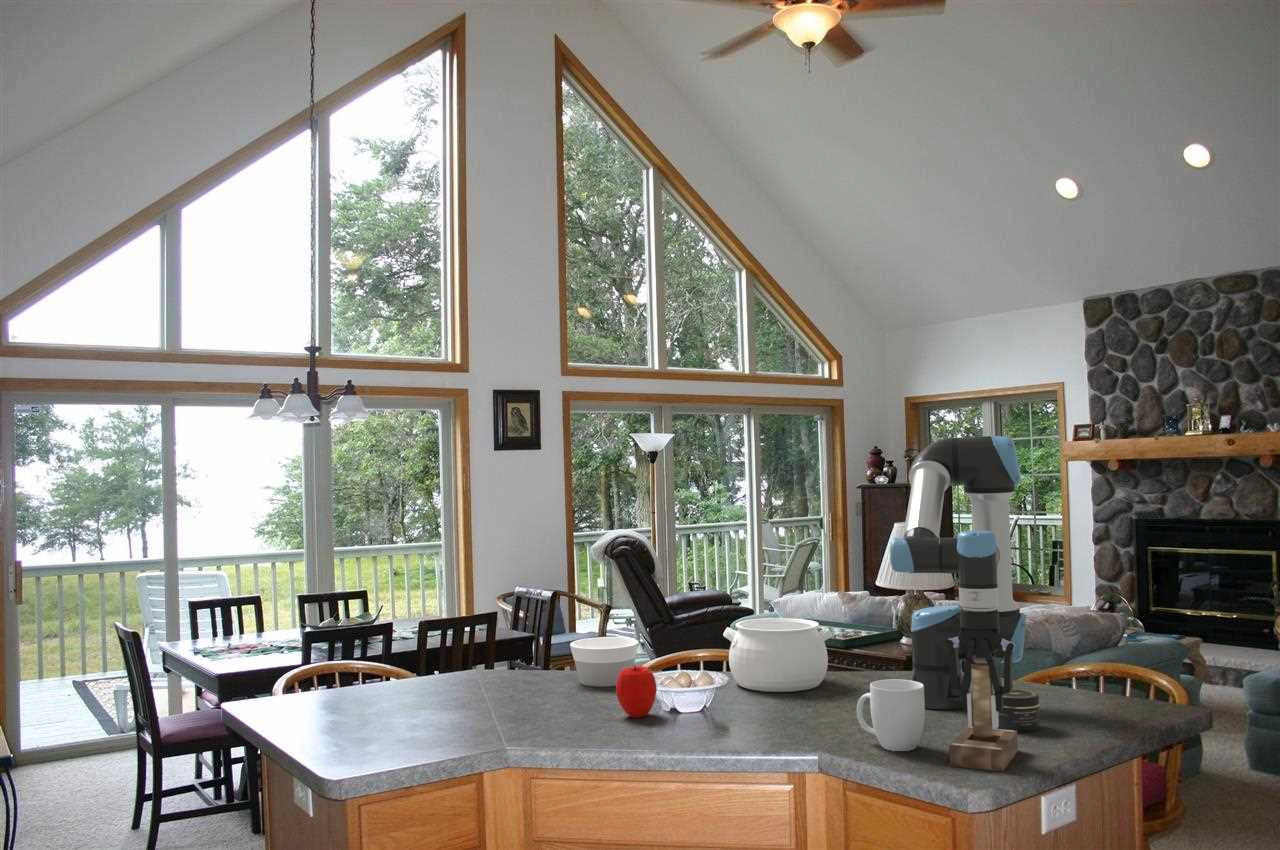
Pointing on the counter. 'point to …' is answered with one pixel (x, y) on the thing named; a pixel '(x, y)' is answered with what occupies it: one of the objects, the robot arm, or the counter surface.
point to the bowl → (603, 659)
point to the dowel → (981, 699)
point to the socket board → (983, 750)
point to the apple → (636, 690)
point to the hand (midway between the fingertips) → (983, 726)
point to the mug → (895, 713)
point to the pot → (778, 654)
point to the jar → (1019, 711)
